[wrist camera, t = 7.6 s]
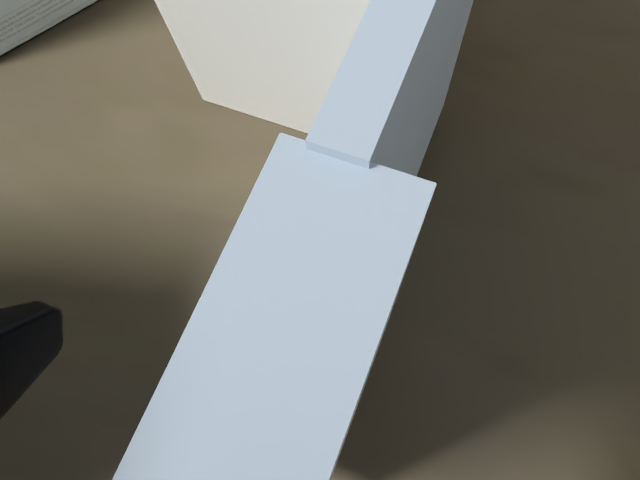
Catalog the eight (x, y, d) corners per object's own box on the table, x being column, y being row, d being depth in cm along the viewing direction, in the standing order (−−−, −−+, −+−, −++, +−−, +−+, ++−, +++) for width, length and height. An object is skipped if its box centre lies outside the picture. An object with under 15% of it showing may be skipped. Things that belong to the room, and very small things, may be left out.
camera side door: (318, 513, 14) (220, 777, 4) (256, 483, 15) (17, 655, 4) (464, 110, 18) (606, -282, 8) (413, 95, 19) (484, -299, 8)
